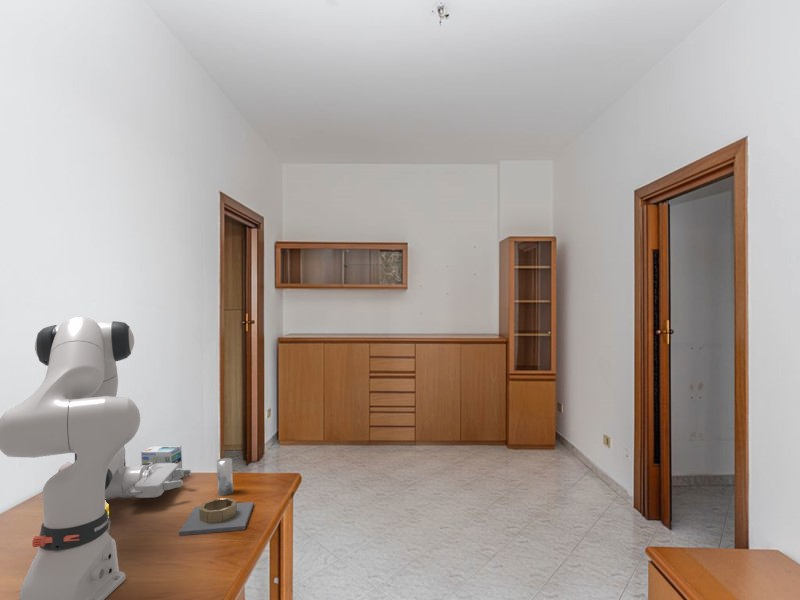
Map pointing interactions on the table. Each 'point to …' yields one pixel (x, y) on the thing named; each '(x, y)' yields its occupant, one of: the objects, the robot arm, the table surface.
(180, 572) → the table surface
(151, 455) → the light bulb box
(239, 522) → the base plate
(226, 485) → the piston
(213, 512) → the bronze ring
